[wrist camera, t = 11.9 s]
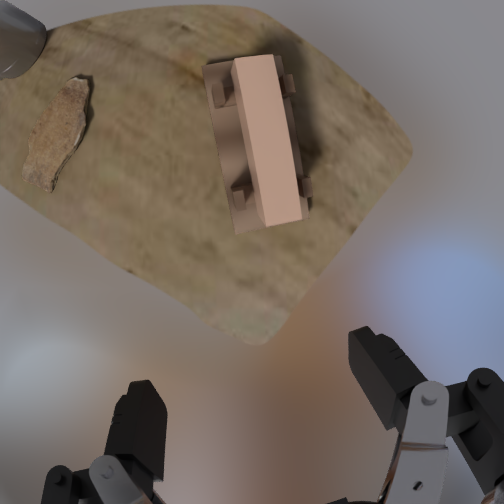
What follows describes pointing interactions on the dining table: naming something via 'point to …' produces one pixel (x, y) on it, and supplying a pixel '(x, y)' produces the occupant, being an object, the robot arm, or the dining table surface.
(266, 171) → the clay bar
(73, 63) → the dining table surface
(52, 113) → the pottery shard
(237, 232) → the brown cradle stand
